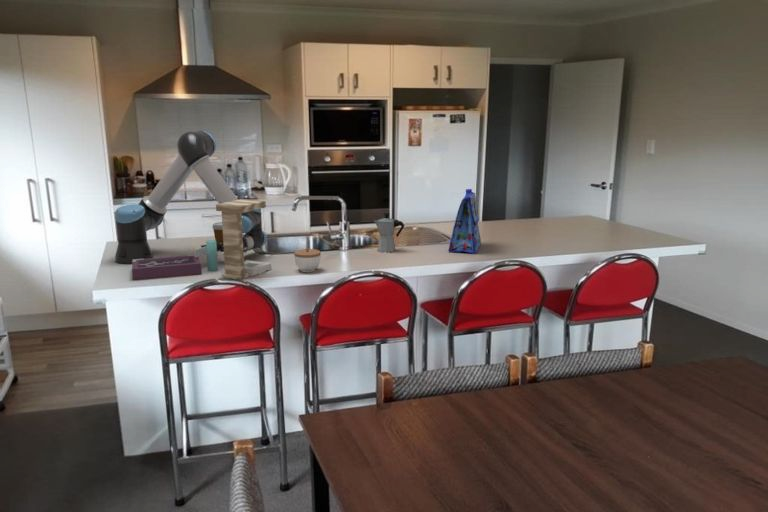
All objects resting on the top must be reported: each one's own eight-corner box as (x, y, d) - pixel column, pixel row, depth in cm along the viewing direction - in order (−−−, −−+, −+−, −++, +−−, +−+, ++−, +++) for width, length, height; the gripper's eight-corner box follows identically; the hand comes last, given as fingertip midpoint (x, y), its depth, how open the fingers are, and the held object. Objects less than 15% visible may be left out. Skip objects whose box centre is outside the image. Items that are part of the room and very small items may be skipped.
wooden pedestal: (243, 280, 222) (239, 206, 216) (218, 276, 227) (214, 204, 220) (268, 270, 237) (265, 201, 230) (244, 267, 242) (240, 199, 235)
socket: (253, 276, 228) (253, 270, 228) (229, 272, 233) (228, 266, 232) (271, 269, 239) (271, 263, 238) (247, 265, 244) (247, 260, 243)
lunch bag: (476, 254, 267) (479, 192, 260) (447, 252, 270) (449, 190, 263) (481, 244, 287) (484, 186, 280) (454, 243, 291) (456, 185, 284)
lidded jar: (296, 274, 231) (295, 251, 229) (293, 267, 241) (292, 245, 239) (323, 272, 234) (322, 250, 232) (318, 266, 244) (318, 244, 242)
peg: (209, 271, 235) (207, 242, 232) (206, 269, 238) (204, 240, 235) (219, 270, 237) (217, 241, 234) (216, 268, 240) (214, 239, 237)
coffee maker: (370, 251, 271) (370, 213, 266) (376, 247, 279) (376, 210, 275) (401, 254, 266) (401, 215, 262) (406, 250, 275) (406, 212, 270)
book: (198, 265, 245) (197, 254, 244) (201, 275, 231) (201, 263, 230) (133, 271, 236) (132, 259, 235) (132, 281, 222) (131, 268, 220)
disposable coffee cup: (228, 251, 270) (227, 225, 267) (209, 250, 272) (208, 225, 269) (237, 246, 279) (236, 222, 276) (219, 245, 281) (217, 221, 278)
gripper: (265, 255, 249) (234, 266, 230) (218, 249, 258) (184, 260, 239) (264, 238, 247) (233, 248, 228) (217, 233, 256) (183, 242, 237)
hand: (208, 254), depth 234 cm, fingers open, 13 cm apart
